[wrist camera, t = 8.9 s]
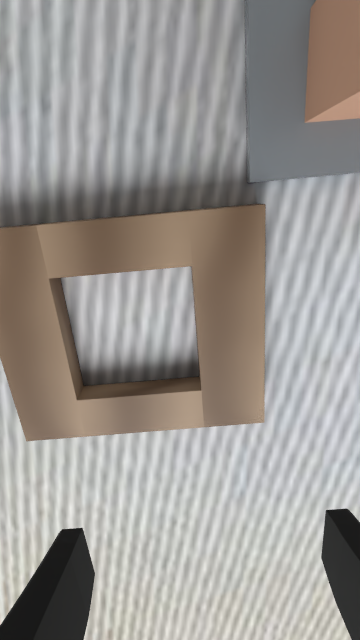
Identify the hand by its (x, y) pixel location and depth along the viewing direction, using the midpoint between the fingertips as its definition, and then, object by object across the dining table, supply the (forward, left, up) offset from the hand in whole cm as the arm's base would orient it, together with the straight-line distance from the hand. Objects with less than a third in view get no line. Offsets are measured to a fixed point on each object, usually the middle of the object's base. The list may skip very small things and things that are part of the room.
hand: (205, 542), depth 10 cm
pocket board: (+3, -3, -10) cm, 11 cm away
